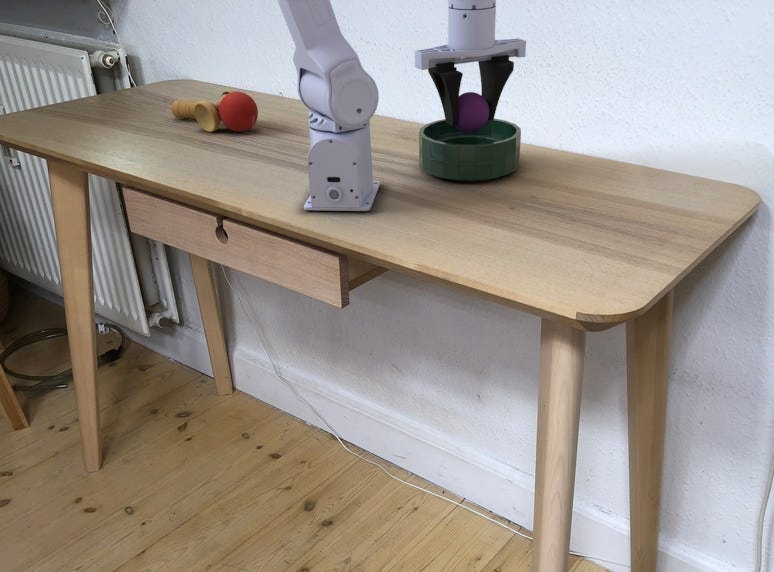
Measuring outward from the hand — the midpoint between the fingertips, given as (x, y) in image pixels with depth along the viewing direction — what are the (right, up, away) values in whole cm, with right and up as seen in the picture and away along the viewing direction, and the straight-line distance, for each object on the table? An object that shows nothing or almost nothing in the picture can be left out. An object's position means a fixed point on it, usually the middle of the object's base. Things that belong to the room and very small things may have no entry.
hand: (470, 121), depth 98 cm
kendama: (-39, +7, +25) cm, 47 cm away
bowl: (0, -5, +3) cm, 6 cm away
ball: (0, +1, -1) cm, 1 cm away
